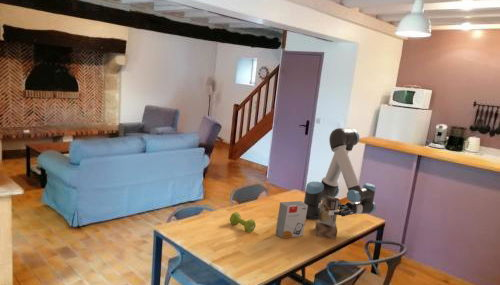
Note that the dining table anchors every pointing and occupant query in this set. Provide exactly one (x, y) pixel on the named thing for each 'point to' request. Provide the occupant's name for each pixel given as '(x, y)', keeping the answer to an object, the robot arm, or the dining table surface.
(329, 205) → the coffee box
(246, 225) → the dumbbell
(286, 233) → the hard drive box
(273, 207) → the dining table surface
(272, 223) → the dining table surface
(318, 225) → the walnut block
